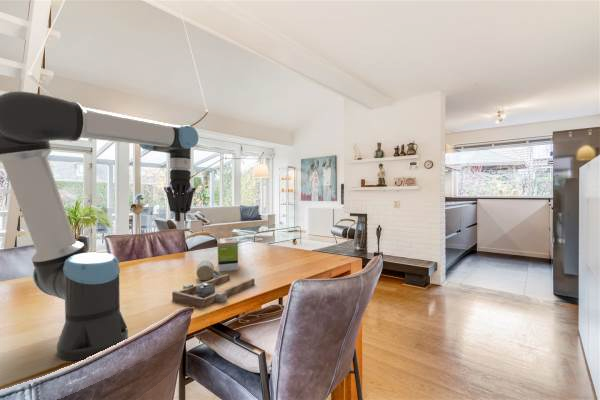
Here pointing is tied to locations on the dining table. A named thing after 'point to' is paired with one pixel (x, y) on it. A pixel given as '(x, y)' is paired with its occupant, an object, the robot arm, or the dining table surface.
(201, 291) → the rider
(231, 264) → the tea box
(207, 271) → the ceramic mug
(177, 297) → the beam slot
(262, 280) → the dining table surface
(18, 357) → the dining table surface
